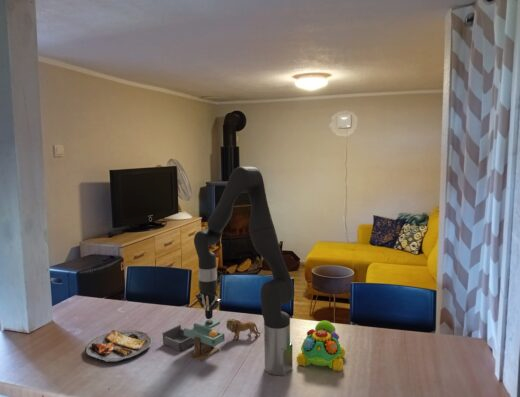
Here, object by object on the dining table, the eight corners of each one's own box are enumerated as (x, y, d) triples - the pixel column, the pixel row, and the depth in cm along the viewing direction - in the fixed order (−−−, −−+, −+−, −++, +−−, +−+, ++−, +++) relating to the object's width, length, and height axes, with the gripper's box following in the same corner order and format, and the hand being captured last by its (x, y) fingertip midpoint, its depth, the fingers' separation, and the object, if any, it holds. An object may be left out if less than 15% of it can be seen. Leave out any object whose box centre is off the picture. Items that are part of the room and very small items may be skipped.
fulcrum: (219, 350, 162) (218, 331, 161) (200, 361, 154) (200, 341, 153) (208, 346, 166) (207, 327, 165) (189, 356, 158) (188, 336, 157)
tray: (197, 342, 169) (196, 331, 168) (180, 351, 162) (179, 339, 161) (180, 335, 175) (179, 324, 174) (163, 344, 168) (162, 332, 167)
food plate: (73, 354, 161) (72, 345, 160) (118, 330, 181) (118, 322, 181) (119, 371, 149) (119, 362, 149) (163, 344, 170) (162, 336, 169)
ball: (219, 338, 156) (219, 330, 156) (213, 341, 154) (213, 333, 153) (213, 336, 158) (212, 328, 158) (207, 339, 156) (207, 331, 155)
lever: (241, 330, 164) (241, 324, 164) (213, 346, 152) (213, 339, 151) (211, 320, 174) (211, 314, 174) (183, 334, 162) (182, 328, 161)
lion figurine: (228, 343, 168) (227, 322, 167) (225, 337, 173) (224, 317, 172) (262, 337, 173) (262, 317, 171) (258, 332, 178) (258, 312, 176)
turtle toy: (347, 346, 165) (347, 318, 163) (342, 378, 142) (342, 346, 141) (305, 341, 169) (305, 313, 168) (294, 371, 147) (294, 340, 145)
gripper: (226, 278, 166) (227, 319, 168) (202, 272, 174) (204, 311, 176) (213, 283, 160) (214, 325, 162) (189, 277, 168) (191, 317, 170)
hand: (209, 318), depth 169 cm, fingers closed
